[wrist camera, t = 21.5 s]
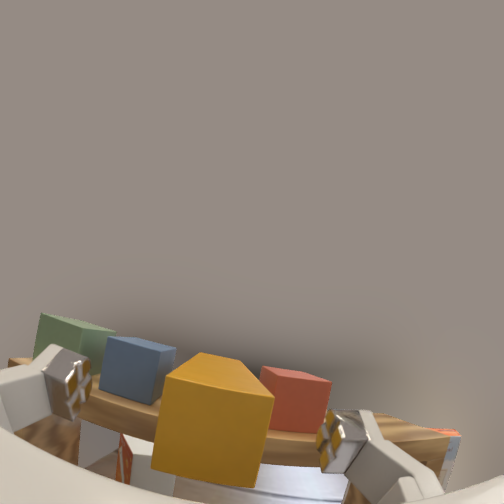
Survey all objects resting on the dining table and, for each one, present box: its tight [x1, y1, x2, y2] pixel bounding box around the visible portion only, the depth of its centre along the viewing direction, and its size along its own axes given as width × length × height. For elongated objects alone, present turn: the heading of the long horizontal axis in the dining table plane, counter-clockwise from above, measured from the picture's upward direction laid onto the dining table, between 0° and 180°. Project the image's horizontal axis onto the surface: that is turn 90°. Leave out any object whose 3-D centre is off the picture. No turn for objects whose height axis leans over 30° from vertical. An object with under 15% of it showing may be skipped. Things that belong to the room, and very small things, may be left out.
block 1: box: [32, 313, 117, 376], centre depth 23 cm, size 8×4×4 cm, turn 7°
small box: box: [115, 433, 176, 497], centre depth 33 cm, size 8×6×13 cm
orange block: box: [150, 352, 275, 488], centre depth 19 cm, size 20×4×4 cm, turn 7°
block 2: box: [98, 336, 176, 405], centre depth 23 cm, size 8×4×4 cm, turn 7°
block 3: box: [259, 366, 332, 434], centre depth 23 cm, size 8×4×4 cm, turn 7°
